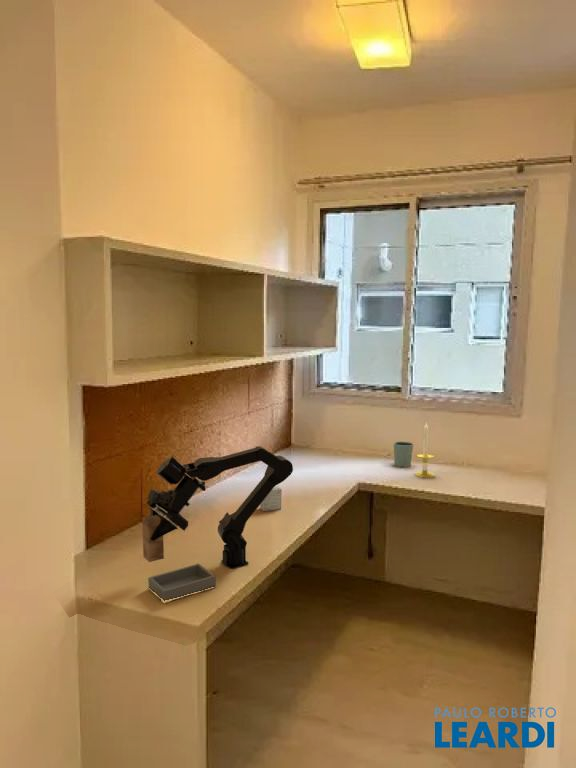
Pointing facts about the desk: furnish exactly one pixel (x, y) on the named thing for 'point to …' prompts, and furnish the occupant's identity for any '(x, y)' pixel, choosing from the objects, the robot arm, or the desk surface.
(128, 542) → the desk surface
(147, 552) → the walnut block
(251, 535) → the desk surface
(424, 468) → the candle
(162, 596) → the tray
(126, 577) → the desk surface
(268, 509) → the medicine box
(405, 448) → the green cup
